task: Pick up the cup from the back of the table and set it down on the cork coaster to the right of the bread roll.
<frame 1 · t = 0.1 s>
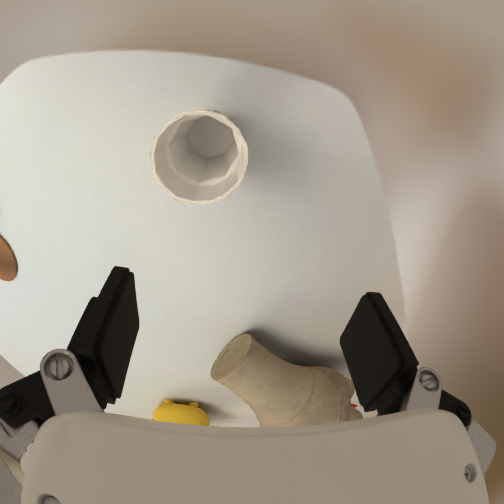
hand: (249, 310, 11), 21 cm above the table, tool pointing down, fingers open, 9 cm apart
vase: (278, 355, 47), on the table
teapot: (182, 410, 58), on the table
cup: (211, 134, 27), on the table
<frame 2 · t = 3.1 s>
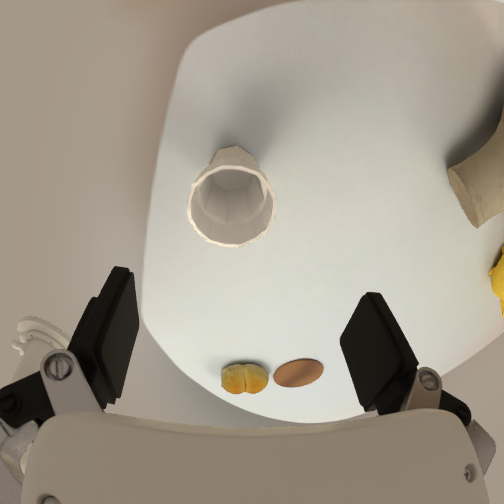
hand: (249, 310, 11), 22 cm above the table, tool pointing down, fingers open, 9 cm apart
bread roll: (243, 372, 50), on the table
coaster: (298, 373, 51), on the table
vase: (482, 143, 28), on the table
cup: (232, 168, 30), on the table
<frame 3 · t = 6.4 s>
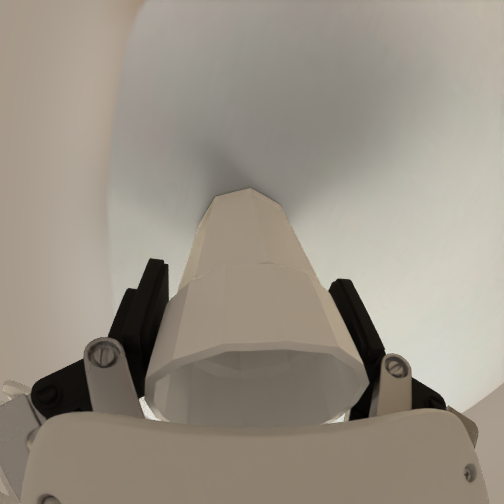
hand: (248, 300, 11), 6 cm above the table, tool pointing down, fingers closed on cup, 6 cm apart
cup: (243, 228, 17), on the table, touching gripper
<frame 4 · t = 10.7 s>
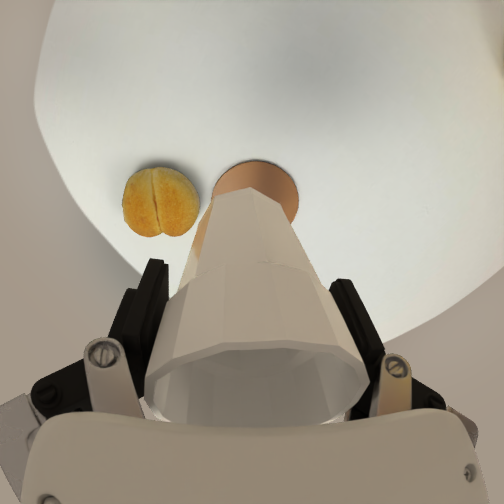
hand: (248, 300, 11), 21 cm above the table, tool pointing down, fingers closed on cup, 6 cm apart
bread roll: (161, 199, 31), on the table
coaster: (255, 203, 32), on the table
cup: (243, 227, 17), point 15 cm above the table, touching gripper
when the fingers open (7 cm above the table, at t = 15.1 s): cup stays where it is, resting on coaster.
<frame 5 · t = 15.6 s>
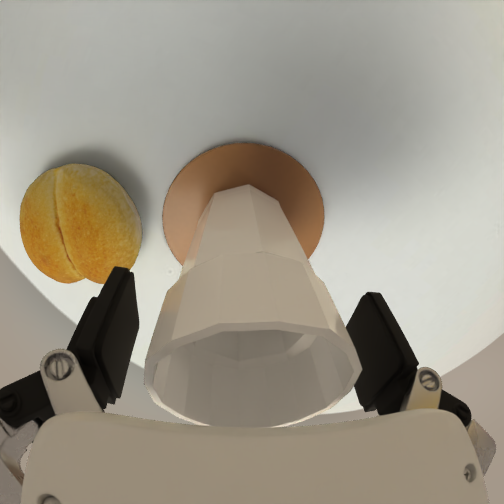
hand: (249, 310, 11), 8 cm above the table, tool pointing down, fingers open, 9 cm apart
bread roll: (84, 220, 17), on the table
coaster: (243, 222, 17), on the table
cup: (241, 223, 17), resting on coaster
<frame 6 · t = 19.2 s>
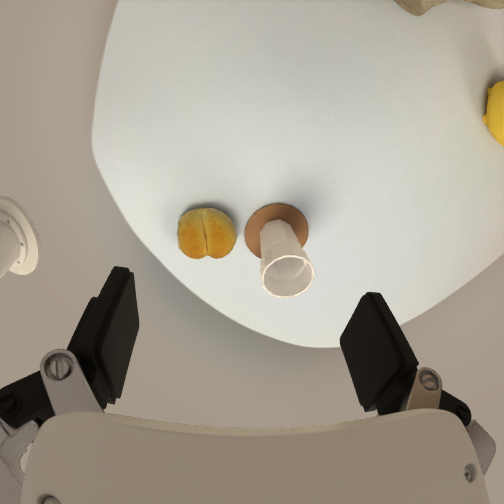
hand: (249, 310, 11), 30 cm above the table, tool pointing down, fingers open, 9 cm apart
bread roll: (205, 230, 43), on the table
coaster: (276, 233, 44), on the table
teapot: (500, 115, 32), on the table
cup: (276, 233, 44), resting on coaster
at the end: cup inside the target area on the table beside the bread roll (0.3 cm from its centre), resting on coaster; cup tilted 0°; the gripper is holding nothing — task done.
